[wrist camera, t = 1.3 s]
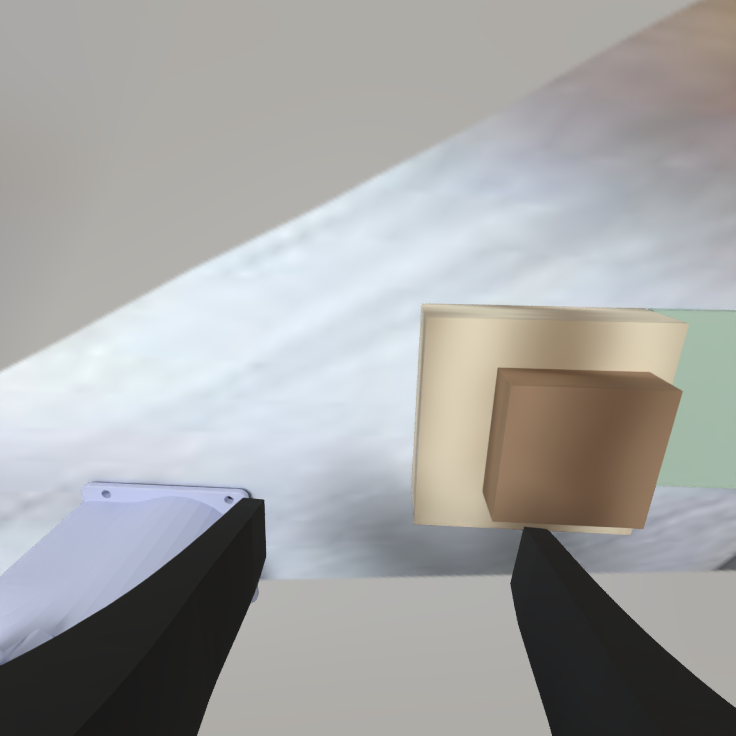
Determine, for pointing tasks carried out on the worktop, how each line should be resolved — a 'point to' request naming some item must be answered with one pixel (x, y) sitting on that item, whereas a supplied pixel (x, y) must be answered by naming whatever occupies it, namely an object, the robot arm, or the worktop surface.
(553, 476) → the walnut coaster
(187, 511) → the robot arm
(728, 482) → the green mat
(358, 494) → the worktop surface
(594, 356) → the birch board
